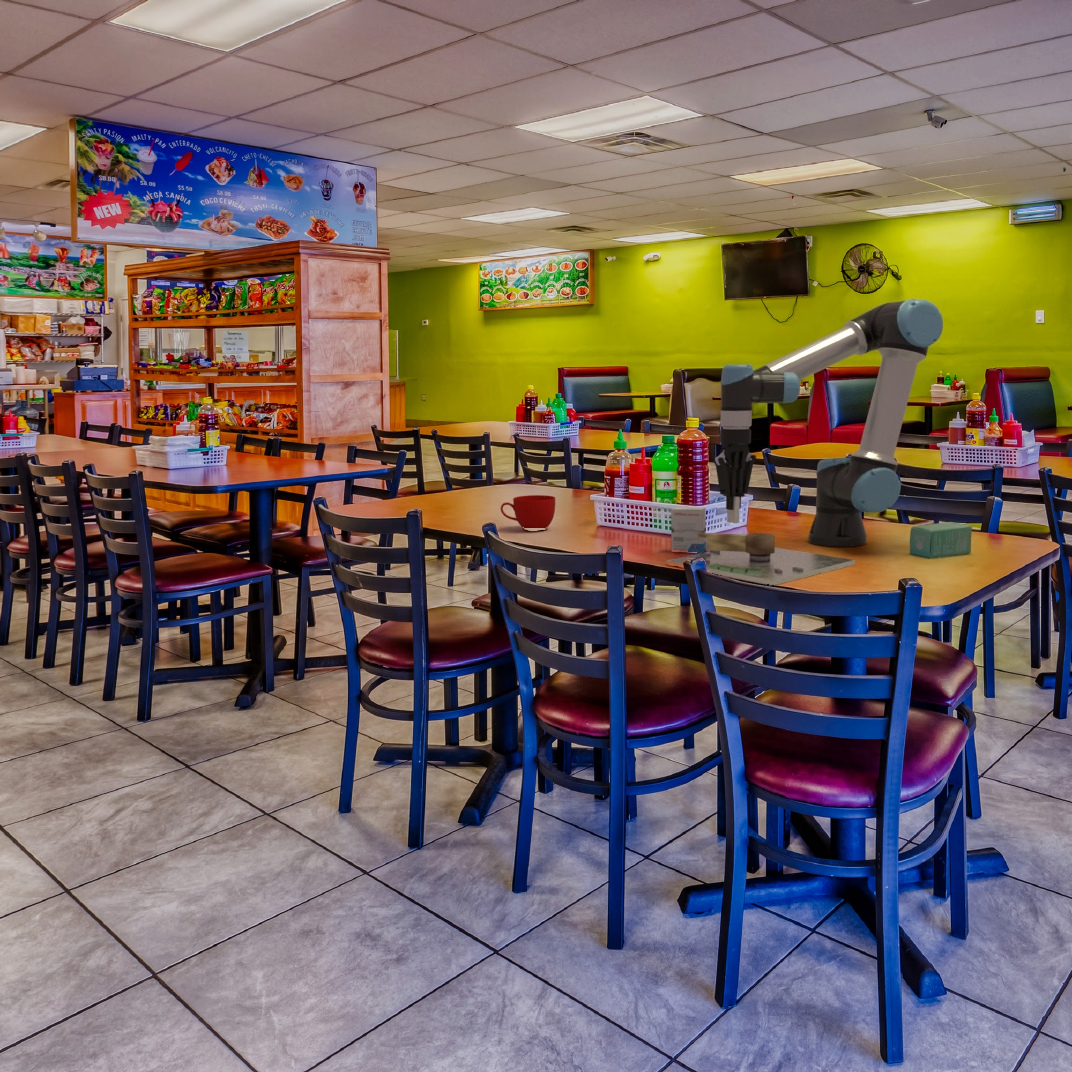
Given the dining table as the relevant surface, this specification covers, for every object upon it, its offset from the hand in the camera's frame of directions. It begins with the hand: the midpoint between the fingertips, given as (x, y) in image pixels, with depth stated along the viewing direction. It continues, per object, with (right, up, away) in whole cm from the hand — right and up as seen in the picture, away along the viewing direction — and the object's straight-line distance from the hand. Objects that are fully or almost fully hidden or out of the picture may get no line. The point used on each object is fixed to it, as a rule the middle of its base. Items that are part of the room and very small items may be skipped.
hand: (733, 522), depth 237 cm
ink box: (-9, -8, +14) cm, 18 cm away
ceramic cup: (-52, -2, +54) cm, 75 cm away
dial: (0, -7, -4) cm, 8 cm away
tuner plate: (+5, -11, -5) cm, 13 cm away
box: (+53, -8, +3) cm, 54 cm away
